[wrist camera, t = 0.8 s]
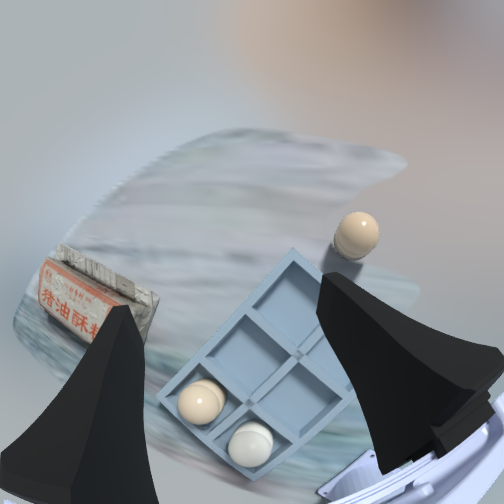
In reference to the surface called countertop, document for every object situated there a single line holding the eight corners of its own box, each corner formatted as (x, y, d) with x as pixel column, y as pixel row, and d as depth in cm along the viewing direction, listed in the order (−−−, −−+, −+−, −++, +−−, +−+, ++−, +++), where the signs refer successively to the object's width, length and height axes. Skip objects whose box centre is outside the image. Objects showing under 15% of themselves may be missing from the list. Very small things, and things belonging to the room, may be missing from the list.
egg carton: (391, 340, 25) (401, 343, 22) (257, 468, 24) (253, 481, 21) (293, 253, 28) (292, 247, 25) (167, 389, 28) (155, 396, 25)
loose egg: (378, 239, 27) (393, 225, 22) (355, 268, 27) (367, 260, 22) (349, 214, 28) (358, 196, 23) (325, 242, 28) (331, 229, 23)
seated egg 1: (235, 396, 25) (223, 413, 21) (210, 419, 25) (194, 438, 20) (206, 369, 26) (188, 381, 22) (182, 393, 26) (161, 407, 21)
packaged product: (142, 292, 25) (115, 380, 24) (164, 294, 30) (138, 372, 29) (42, 236, 29) (23, 306, 28) (66, 244, 34) (47, 307, 33)
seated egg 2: (282, 435, 24) (279, 458, 19) (255, 457, 24) (247, 481, 19) (253, 412, 25) (244, 431, 20) (227, 434, 25) (214, 455, 20)
